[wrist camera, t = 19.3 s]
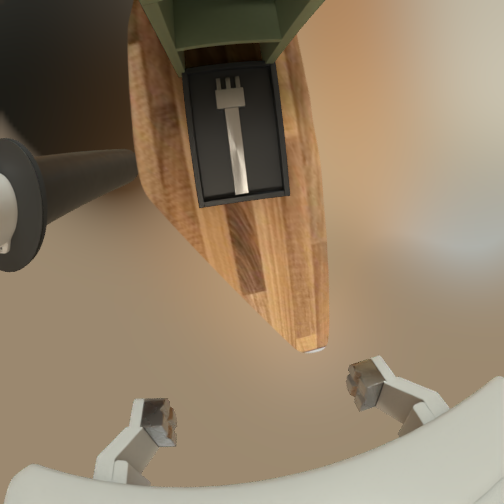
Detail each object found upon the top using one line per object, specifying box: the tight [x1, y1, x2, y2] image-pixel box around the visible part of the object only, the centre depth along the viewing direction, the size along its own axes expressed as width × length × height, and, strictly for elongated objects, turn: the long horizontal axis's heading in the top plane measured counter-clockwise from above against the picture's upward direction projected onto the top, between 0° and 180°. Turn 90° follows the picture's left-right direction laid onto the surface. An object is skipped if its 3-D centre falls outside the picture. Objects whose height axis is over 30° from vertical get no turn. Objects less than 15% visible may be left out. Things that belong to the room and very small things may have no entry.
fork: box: [215, 76, 249, 195], centre depth 37 cm, size 18×4×1 cm, turn 7°
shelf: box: [139, 0, 325, 77], centre depth 21 cm, size 14×12×25 cm
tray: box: [182, 60, 290, 208], centre depth 37 cm, size 14×21×2 cm, turn 7°
